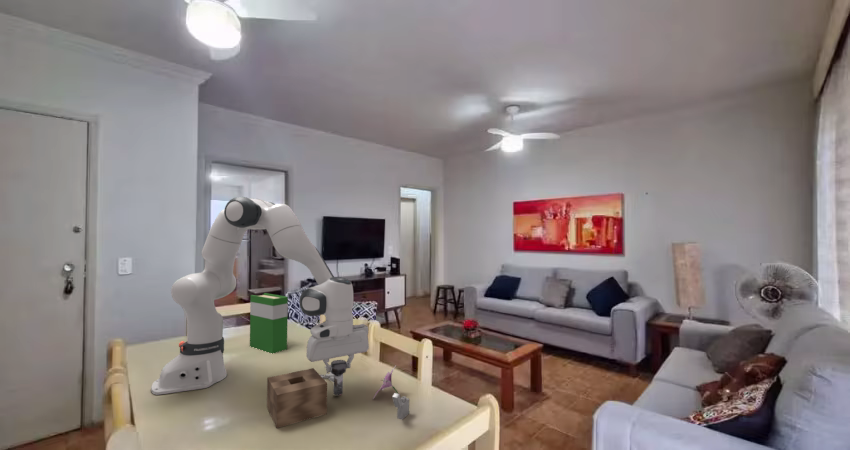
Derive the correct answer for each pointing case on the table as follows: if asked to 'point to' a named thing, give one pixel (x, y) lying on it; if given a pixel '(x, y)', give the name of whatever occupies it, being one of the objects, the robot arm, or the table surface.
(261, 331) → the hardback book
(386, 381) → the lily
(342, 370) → the pin
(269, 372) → the table surface
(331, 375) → the grey branched figurine
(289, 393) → the block
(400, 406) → the lighter
